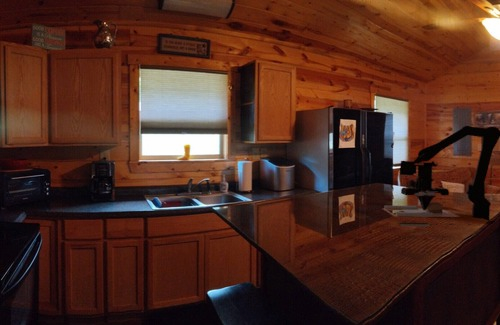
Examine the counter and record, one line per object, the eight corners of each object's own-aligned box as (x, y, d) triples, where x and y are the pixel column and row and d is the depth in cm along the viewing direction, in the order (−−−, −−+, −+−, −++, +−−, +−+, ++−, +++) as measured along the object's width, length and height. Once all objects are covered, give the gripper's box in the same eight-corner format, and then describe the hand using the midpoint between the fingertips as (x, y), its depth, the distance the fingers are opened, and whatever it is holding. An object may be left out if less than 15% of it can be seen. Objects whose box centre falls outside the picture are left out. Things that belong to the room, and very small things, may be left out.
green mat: (429, 226, 129) (429, 224, 128) (400, 226, 129) (400, 224, 129) (417, 219, 139) (417, 218, 139) (391, 219, 140) (391, 217, 140)
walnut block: (442, 213, 144) (442, 204, 144) (430, 213, 145) (431, 204, 145) (436, 211, 149) (437, 202, 149) (425, 211, 150) (425, 202, 150)
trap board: (460, 220, 138) (460, 213, 138) (394, 219, 140) (394, 212, 140) (439, 211, 155) (440, 205, 155) (382, 211, 157) (382, 205, 157)
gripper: (437, 174, 154) (436, 206, 155) (396, 174, 155) (396, 206, 156) (450, 176, 143) (449, 211, 143) (406, 176, 144) (405, 211, 145)
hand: (424, 210), depth 147 cm, fingers closed
